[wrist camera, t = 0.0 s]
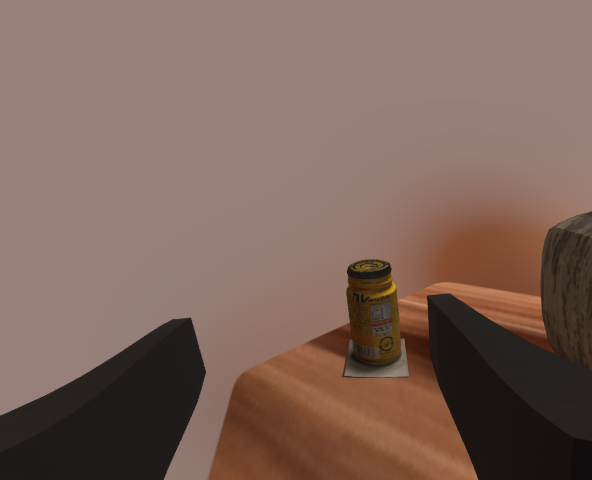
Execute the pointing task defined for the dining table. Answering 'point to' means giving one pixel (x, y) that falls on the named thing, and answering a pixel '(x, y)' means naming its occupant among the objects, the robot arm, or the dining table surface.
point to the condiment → (374, 322)
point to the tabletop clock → (568, 288)
